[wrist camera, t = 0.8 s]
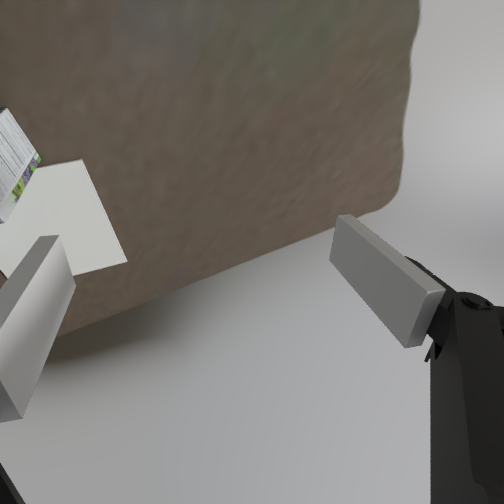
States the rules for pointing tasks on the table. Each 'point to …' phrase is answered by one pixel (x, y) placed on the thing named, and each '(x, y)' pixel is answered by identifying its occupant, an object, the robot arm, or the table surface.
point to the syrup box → (13, 163)
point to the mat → (61, 220)
